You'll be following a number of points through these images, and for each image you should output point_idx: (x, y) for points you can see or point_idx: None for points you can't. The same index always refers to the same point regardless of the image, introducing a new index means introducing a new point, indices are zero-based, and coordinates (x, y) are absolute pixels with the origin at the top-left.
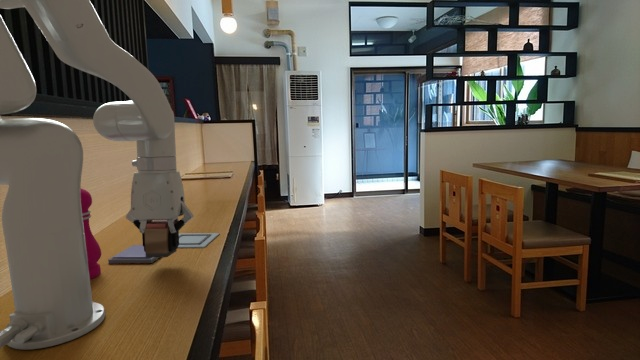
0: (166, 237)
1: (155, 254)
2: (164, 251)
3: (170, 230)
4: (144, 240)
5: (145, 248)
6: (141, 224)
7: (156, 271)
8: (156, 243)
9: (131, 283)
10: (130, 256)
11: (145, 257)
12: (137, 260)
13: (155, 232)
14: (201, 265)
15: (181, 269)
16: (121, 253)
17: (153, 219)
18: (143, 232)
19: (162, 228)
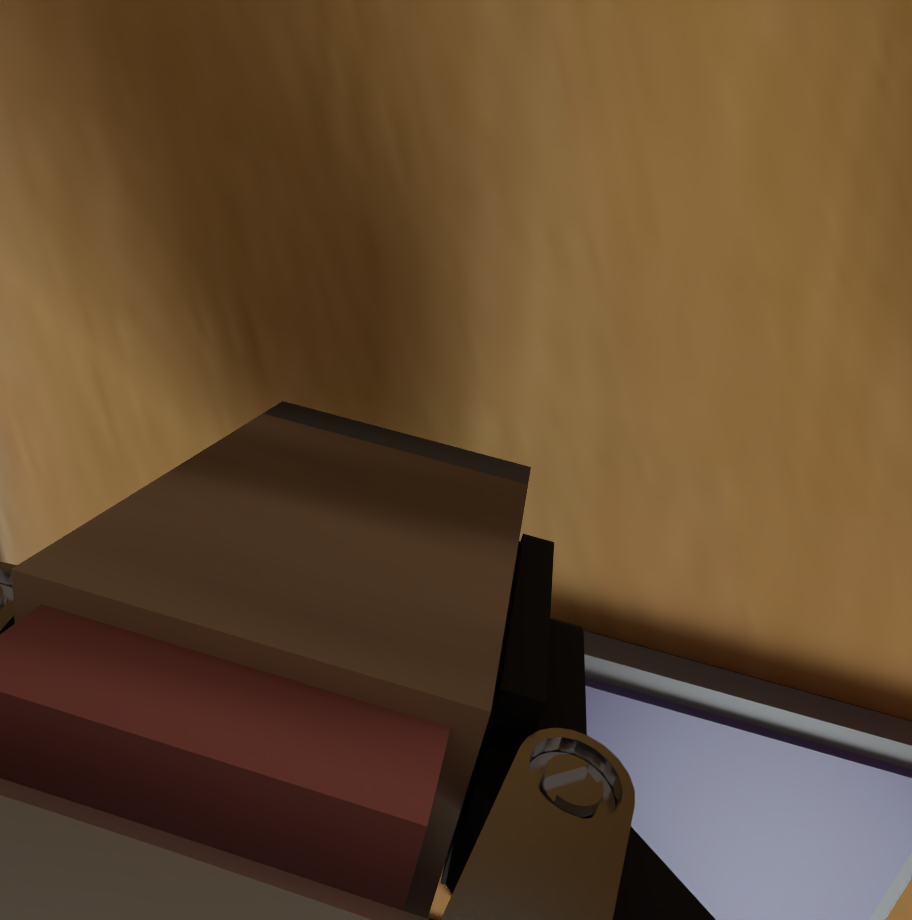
0: (138, 505)
1: (406, 447)
2: (280, 428)
3: (8, 603)
4: (537, 619)
5: (521, 511)
6: (581, 900)
7: (450, 410)
8: (339, 493)
9: (618, 135)
10: (760, 751)
11: (603, 688)
12: (676, 674)
13: (270, 587)
14: (99, 455)
15: (239, 402)
16: (870, 862)
17: (89, 814)
18: (548, 734)
19: (92, 622)
